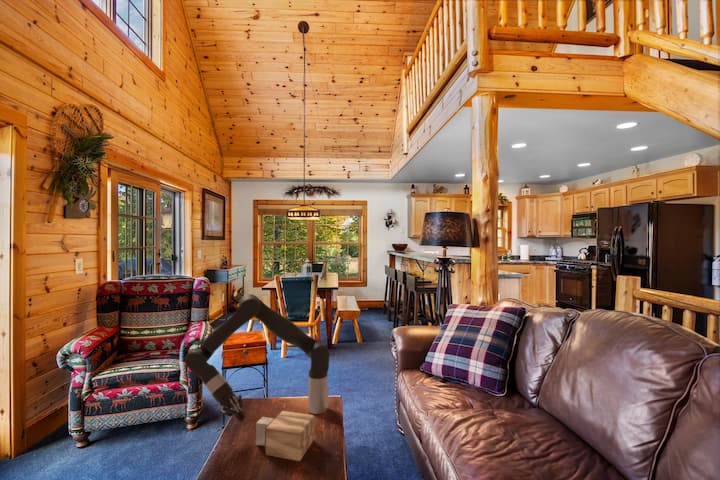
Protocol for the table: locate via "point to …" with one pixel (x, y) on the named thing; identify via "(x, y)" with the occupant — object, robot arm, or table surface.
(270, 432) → the socket block
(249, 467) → the table surface
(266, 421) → the peg
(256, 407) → the table surface
